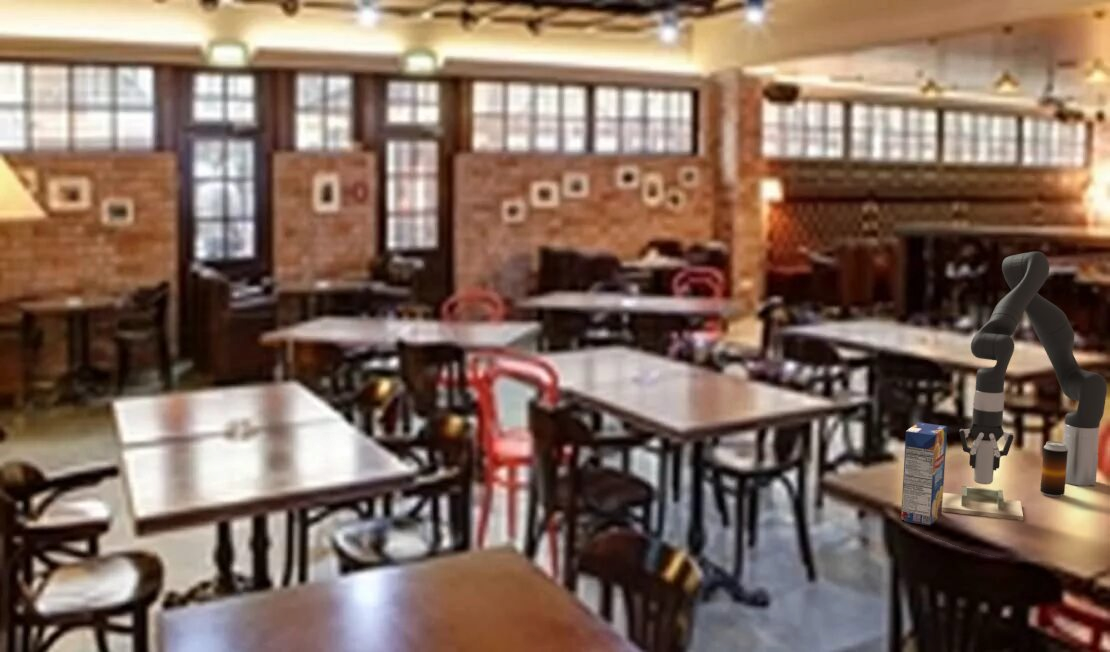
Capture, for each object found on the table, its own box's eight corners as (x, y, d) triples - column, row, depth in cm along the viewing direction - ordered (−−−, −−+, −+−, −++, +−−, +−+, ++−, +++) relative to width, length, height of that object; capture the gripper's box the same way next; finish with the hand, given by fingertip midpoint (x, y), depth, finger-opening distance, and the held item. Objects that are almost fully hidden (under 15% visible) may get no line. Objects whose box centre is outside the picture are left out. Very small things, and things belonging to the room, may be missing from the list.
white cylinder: (970, 479, 290) (973, 437, 288) (987, 479, 290) (990, 436, 288) (978, 485, 285) (981, 441, 283) (995, 484, 285) (999, 441, 284)
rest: (1020, 505, 292) (1021, 490, 291) (1022, 520, 279) (1024, 505, 278) (942, 496, 299) (943, 482, 298) (941, 511, 286) (942, 496, 285)
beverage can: (1062, 492, 303) (1066, 441, 301) (1065, 499, 297) (1069, 447, 295) (1039, 490, 305) (1042, 439, 303) (1041, 496, 299) (1045, 444, 297)
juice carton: (913, 508, 288) (918, 422, 284) (941, 513, 284) (947, 426, 280) (900, 520, 278) (905, 431, 274) (929, 525, 274) (935, 435, 270)
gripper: (1016, 406, 286) (1012, 468, 288) (959, 402, 291) (955, 462, 293) (1017, 412, 279) (1013, 475, 281) (959, 407, 284) (955, 469, 286)
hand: (983, 468), depth 287 cm, fingers closed on white cylinder, 5 cm apart
